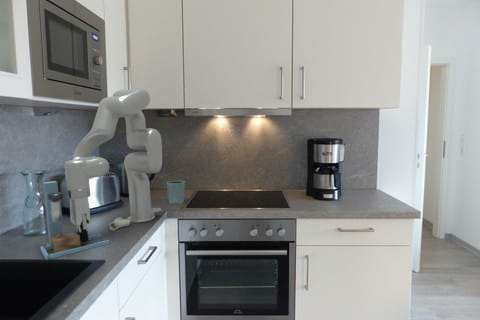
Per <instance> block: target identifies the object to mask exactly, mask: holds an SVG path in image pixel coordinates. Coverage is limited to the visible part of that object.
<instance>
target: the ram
mask: <svg viewBox="0 0 480 320" xmlns="http://www.w3.org/2000/svg"><path fill="white" fill-rule="evenodd" d="M47 196H48V200H51V209H52V219H53V222H58V221H61V222H62V221H63V213H62V202H61V201H62V200H61V199H63V196H64V195H63V192H58V193H51V194H48V195H47Z"/></svg>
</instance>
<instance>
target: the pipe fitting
mask: <svg viewBox="0 0 480 320" xmlns="http://www.w3.org/2000/svg"><path fill="white" fill-rule="evenodd" d="M130 224H131V222H130V221H129V220H128V219H127V218H125V219H124V218H122V217H121V216H119V217H117V218H115V219H114V220H113V221H112V222H110V223H109V224H108V225H109V227H108V228H109V230H111V231H116V230H118V229H120V228H125V227H128V226H129V225H130Z"/></svg>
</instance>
